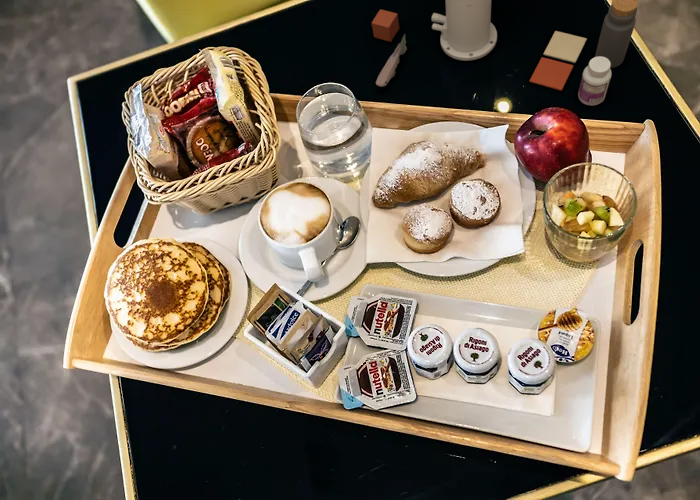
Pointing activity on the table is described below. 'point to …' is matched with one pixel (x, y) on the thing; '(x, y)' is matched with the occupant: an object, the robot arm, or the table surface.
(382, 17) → the terracotta block
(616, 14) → the bottle
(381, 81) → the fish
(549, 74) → the clay pad
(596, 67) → the pill bottle
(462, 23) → the robot arm
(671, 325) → the table surface
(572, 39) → the cream pad
